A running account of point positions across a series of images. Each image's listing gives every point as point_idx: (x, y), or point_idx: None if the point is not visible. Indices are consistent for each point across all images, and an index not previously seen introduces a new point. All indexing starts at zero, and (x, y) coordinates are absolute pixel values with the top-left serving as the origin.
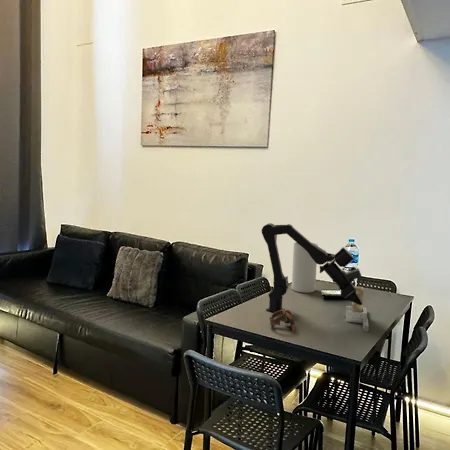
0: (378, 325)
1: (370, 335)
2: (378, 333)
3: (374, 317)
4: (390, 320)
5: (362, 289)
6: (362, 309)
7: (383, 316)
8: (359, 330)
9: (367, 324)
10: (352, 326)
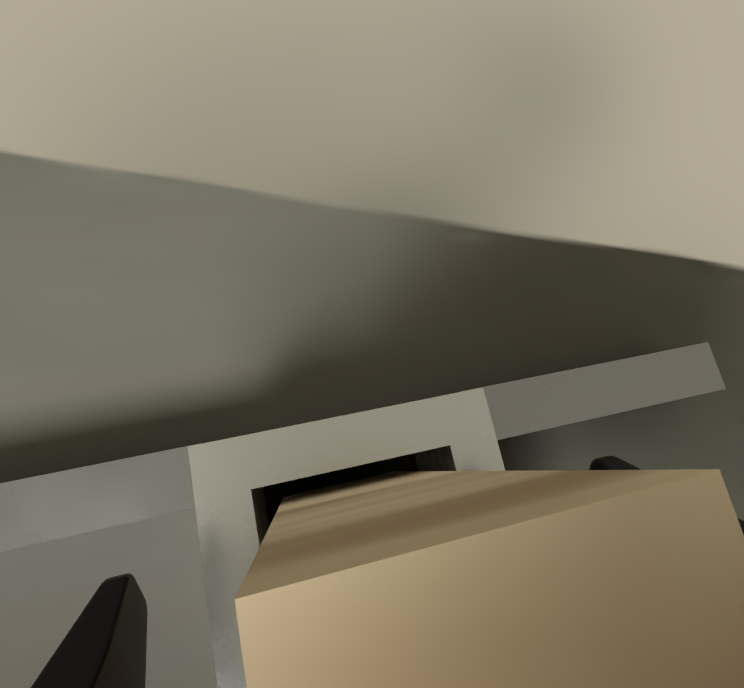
0: (420, 289)
1: (731, 327)
2: (640, 272)
3: (144, 355)
4: (176, 191)
5: (734, 524)
6: (254, 495)
7: (46, 264)
8: (679, 436)
9: (673, 358)
10: None
